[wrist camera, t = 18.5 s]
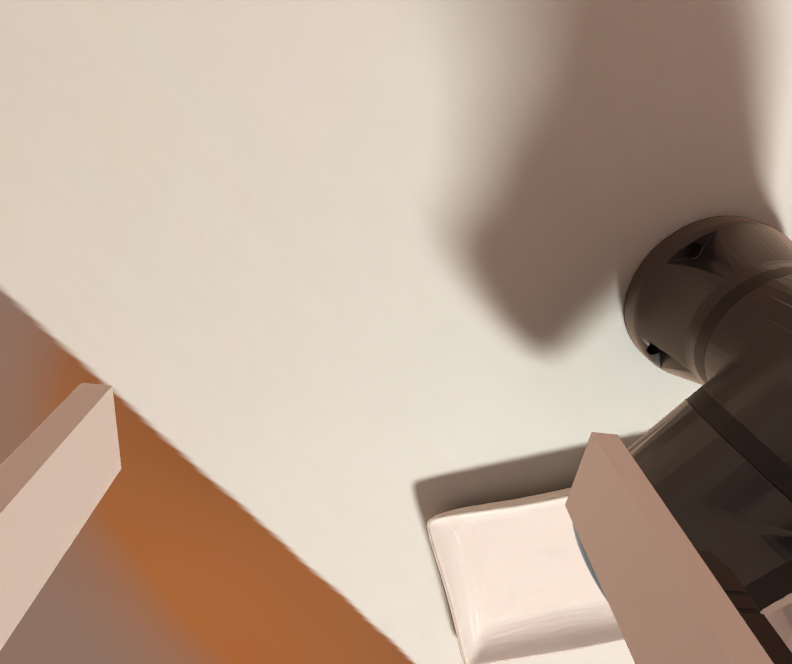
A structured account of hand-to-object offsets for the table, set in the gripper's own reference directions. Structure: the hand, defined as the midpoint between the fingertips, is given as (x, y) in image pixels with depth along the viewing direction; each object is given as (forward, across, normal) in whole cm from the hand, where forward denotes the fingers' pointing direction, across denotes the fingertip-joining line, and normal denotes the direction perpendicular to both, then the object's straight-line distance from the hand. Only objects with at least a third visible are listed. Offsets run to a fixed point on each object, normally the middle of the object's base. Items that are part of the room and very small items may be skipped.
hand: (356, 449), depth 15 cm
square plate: (+33, -27, +39) cm, 58 cm away
